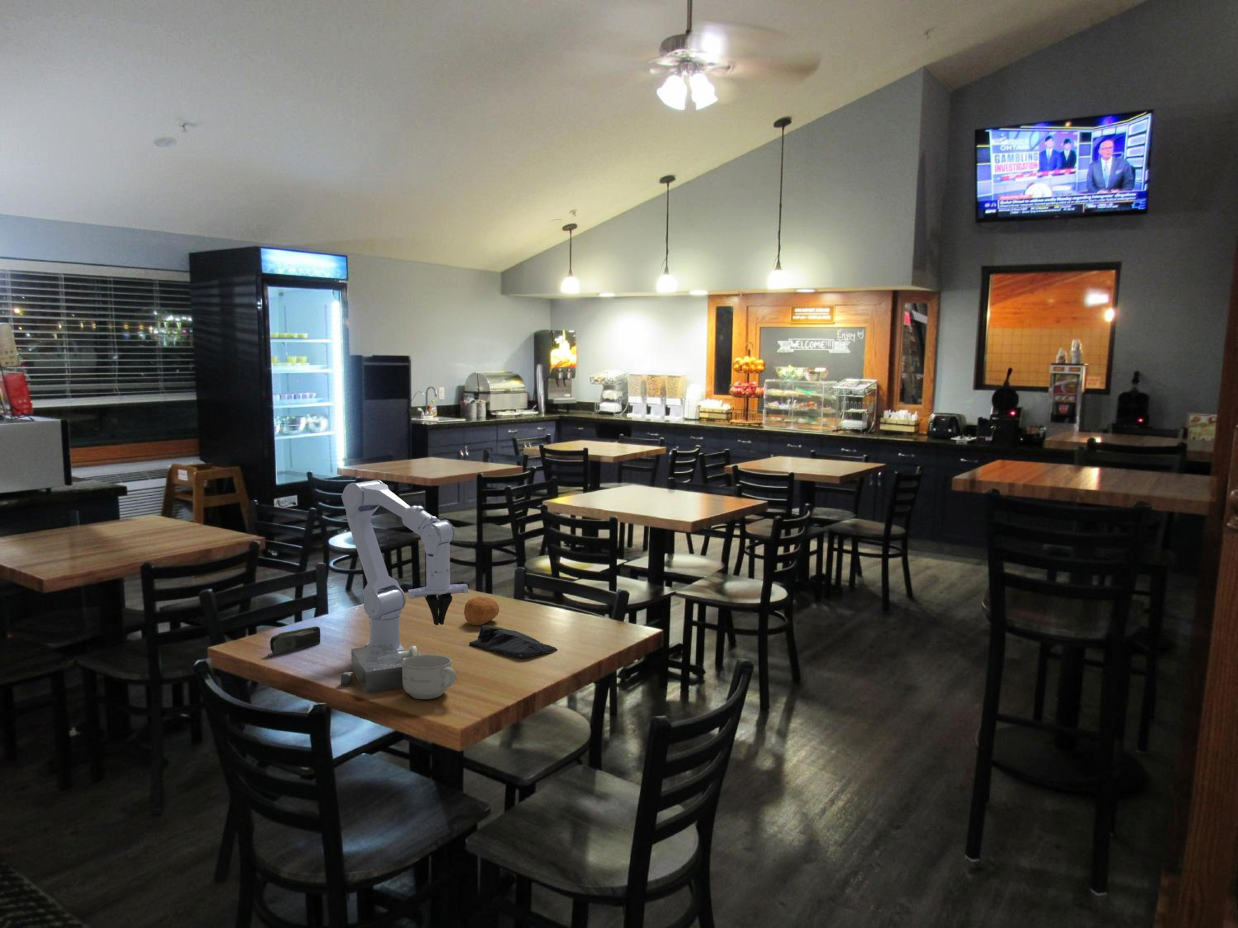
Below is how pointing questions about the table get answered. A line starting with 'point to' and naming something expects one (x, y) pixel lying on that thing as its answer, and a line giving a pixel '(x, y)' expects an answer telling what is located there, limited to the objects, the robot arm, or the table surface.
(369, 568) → the robot arm
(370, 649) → the rack
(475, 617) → the potato
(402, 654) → the knob
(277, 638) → the dark green rounded block
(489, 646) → the black cloth
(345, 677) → the black dial
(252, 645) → the table surface
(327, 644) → the table surface
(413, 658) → the teacup
